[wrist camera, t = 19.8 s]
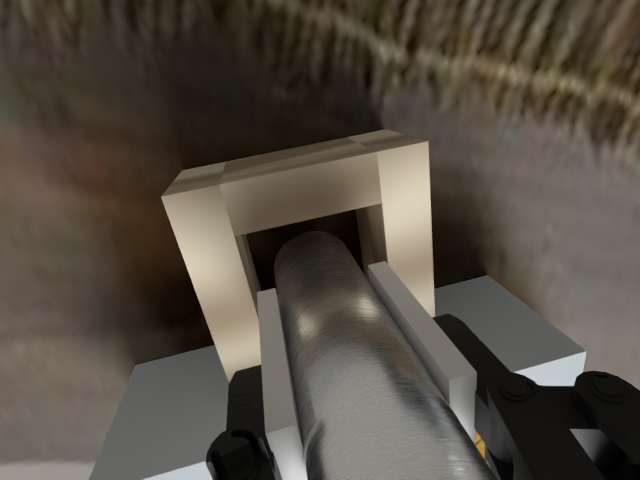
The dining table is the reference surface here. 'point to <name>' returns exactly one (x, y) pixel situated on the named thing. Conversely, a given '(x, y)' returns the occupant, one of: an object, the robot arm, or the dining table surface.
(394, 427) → the metal peg
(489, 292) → the wall
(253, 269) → the square wooden frame
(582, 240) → the dining table surface
